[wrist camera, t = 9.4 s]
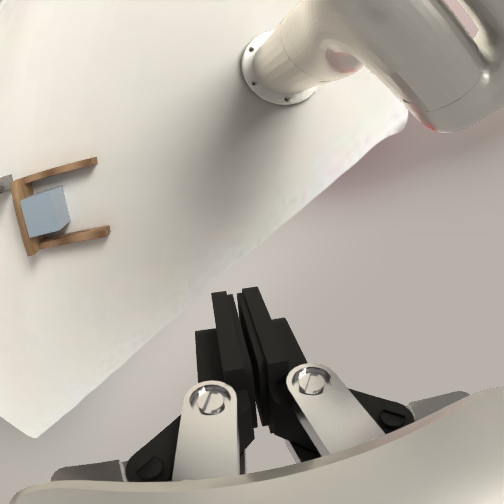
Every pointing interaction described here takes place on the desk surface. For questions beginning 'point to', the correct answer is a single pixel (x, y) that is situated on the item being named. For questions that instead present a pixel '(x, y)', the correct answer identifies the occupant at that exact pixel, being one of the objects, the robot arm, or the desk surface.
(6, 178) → the winch post
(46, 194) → the blue-grey cube
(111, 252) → the desk surface
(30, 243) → the bay
